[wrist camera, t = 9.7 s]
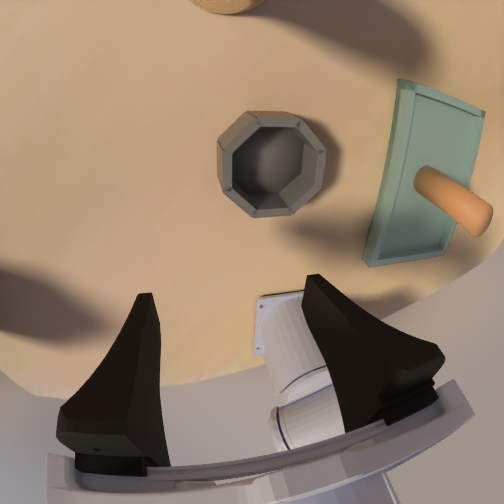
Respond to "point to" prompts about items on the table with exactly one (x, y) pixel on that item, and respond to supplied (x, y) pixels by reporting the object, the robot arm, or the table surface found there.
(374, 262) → the tray
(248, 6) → the beer glass
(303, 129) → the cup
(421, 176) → the dowel
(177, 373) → the table surface
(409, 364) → the robot arm
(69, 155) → the table surface
